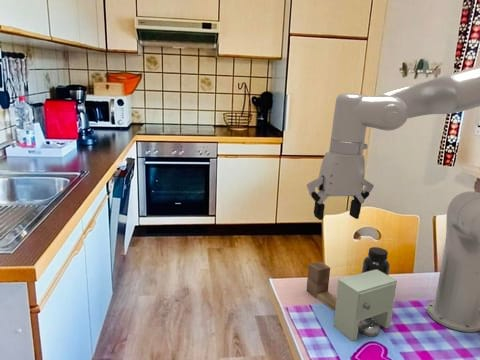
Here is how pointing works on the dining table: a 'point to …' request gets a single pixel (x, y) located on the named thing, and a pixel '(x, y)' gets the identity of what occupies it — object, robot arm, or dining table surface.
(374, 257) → the supplement bottle
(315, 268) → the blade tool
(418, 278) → the dining table surface
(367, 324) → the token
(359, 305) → the cabinet
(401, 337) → the dining table surface
